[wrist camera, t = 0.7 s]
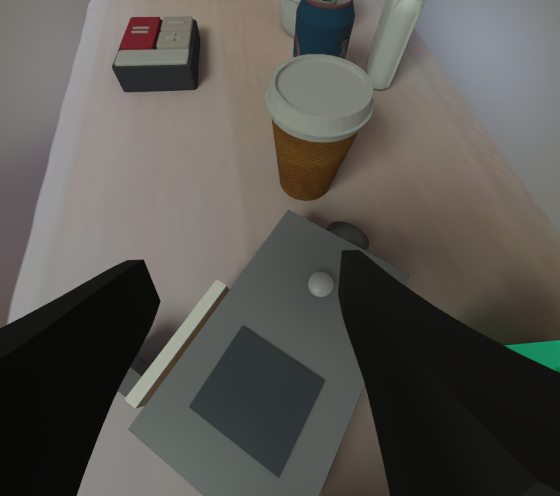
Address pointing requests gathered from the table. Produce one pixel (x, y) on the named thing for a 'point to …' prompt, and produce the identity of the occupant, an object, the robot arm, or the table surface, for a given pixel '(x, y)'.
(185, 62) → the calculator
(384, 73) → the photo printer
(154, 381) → the side door
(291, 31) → the ramekin
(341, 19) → the soda can
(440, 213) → the table surface
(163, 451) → the camera body
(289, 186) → the disposable coffee cup
